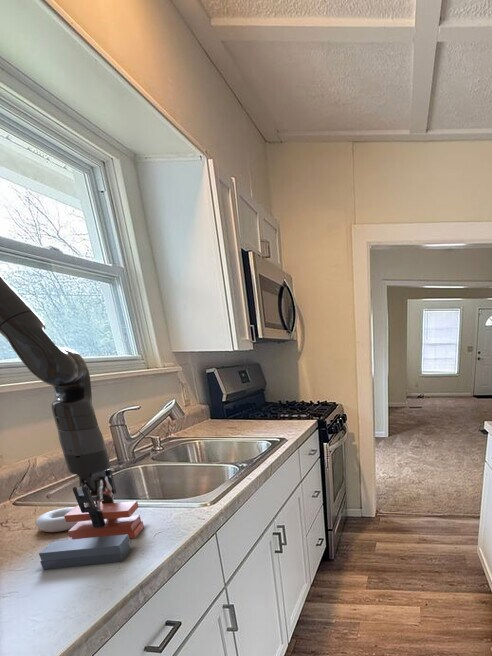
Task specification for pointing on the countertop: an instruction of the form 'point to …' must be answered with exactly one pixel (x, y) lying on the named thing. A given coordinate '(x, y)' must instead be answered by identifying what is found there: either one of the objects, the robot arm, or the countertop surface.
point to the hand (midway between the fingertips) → (105, 520)
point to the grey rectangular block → (85, 551)
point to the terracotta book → (104, 511)
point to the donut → (55, 521)
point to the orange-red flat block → (108, 528)
